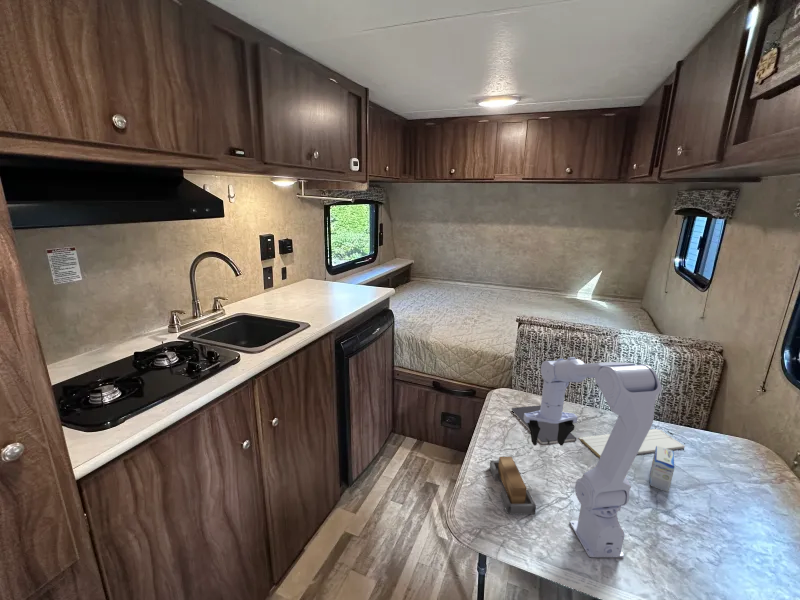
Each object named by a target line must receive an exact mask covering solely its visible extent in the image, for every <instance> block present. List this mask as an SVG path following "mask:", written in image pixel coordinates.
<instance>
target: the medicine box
mask: <svg viewBox="0 0 800 600" xmlns="http://www.w3.org/2000/svg"><path fill="white" fill-rule="evenodd" d="M675 468H676V467H675V451H674V450H669V449H666V448H663V447H659V446H656V449H655V452H653V458H652V461H651V467H650V475H649V486H651V487H653V488H656V489H658V490H661V491H664V492H667V493H669V492H670V487H671V485H672V480H673V475H674V471H675Z"/></svg>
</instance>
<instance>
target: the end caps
mask: <svg viewBox="0 0 800 600" xmlns="http://www.w3.org/2000/svg"><path fill="white" fill-rule="evenodd" d="M514 463H515V465H516V467H517V469H518V471H519V473H520V474H521V472H520V470H519V468H518V466H517V464H516V462H515V461H514ZM498 467H499V460H490V463H489V469H490V472H491V474H492V477H493V480H494V481H495V482H502V480H501V478H500V475H499V473H498ZM500 499H501V500H502V505H503V506H504V509H505V512H506V514H507V515H536V509H537V505H536V503H535V501H534V499H533V497H532V494H531V493H530V490H529V489H526V497H525V504H511V502H510V500H509V497H508V495H507V492H506V490H505V489H501V493H500Z"/></svg>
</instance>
